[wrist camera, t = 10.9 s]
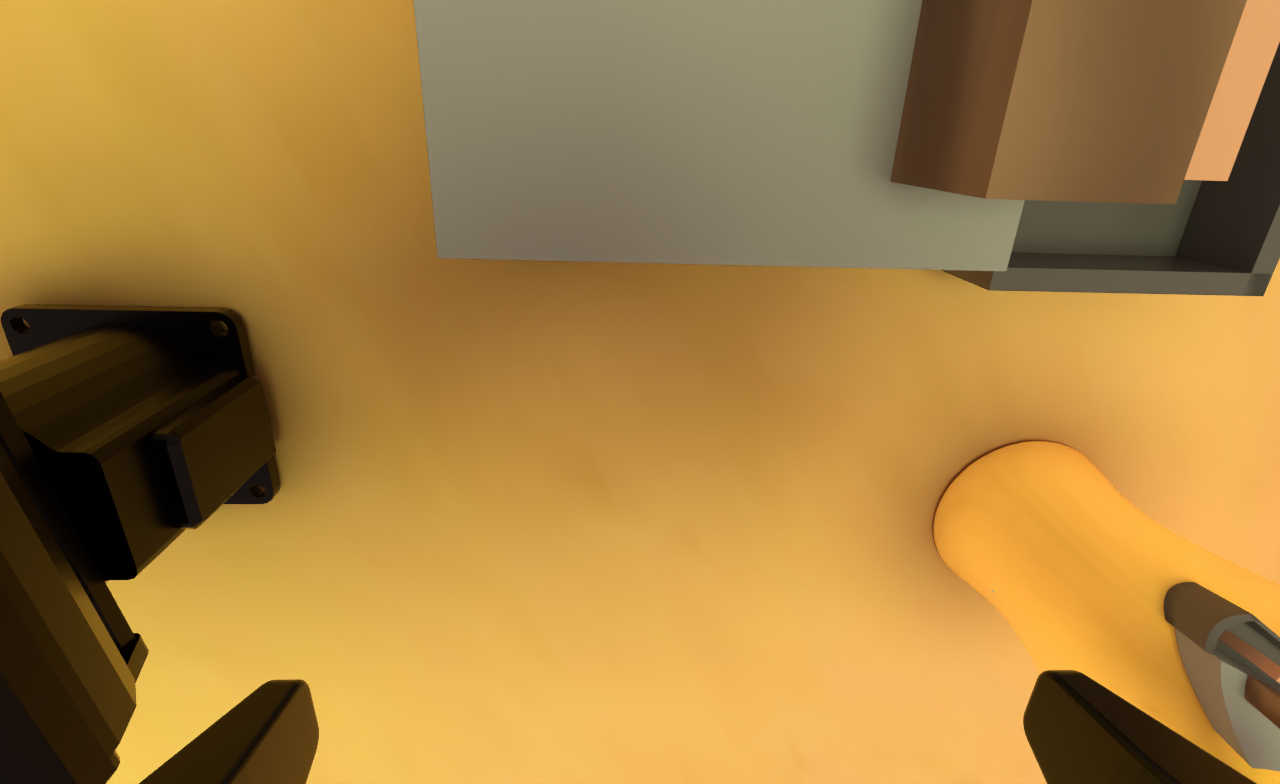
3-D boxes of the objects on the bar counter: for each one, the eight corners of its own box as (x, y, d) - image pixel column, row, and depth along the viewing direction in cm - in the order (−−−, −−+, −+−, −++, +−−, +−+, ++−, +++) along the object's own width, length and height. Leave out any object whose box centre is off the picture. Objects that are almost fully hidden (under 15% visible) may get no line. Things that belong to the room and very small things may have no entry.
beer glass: (1008, 394, 21) (1795, 915, 7) (1150, 477, 22) (2022, 1037, 9) (881, 547, 23) (1289, 1171, 9) (1019, 613, 25) (1544, 1230, 11)
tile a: (1141, 178, 14) (1227, 181, 14) (1211, -37, 12) (1307, -32, 12) (1029, 168, 17) (1097, 170, 18) (1071, 2, 16) (1146, 5, 16)
